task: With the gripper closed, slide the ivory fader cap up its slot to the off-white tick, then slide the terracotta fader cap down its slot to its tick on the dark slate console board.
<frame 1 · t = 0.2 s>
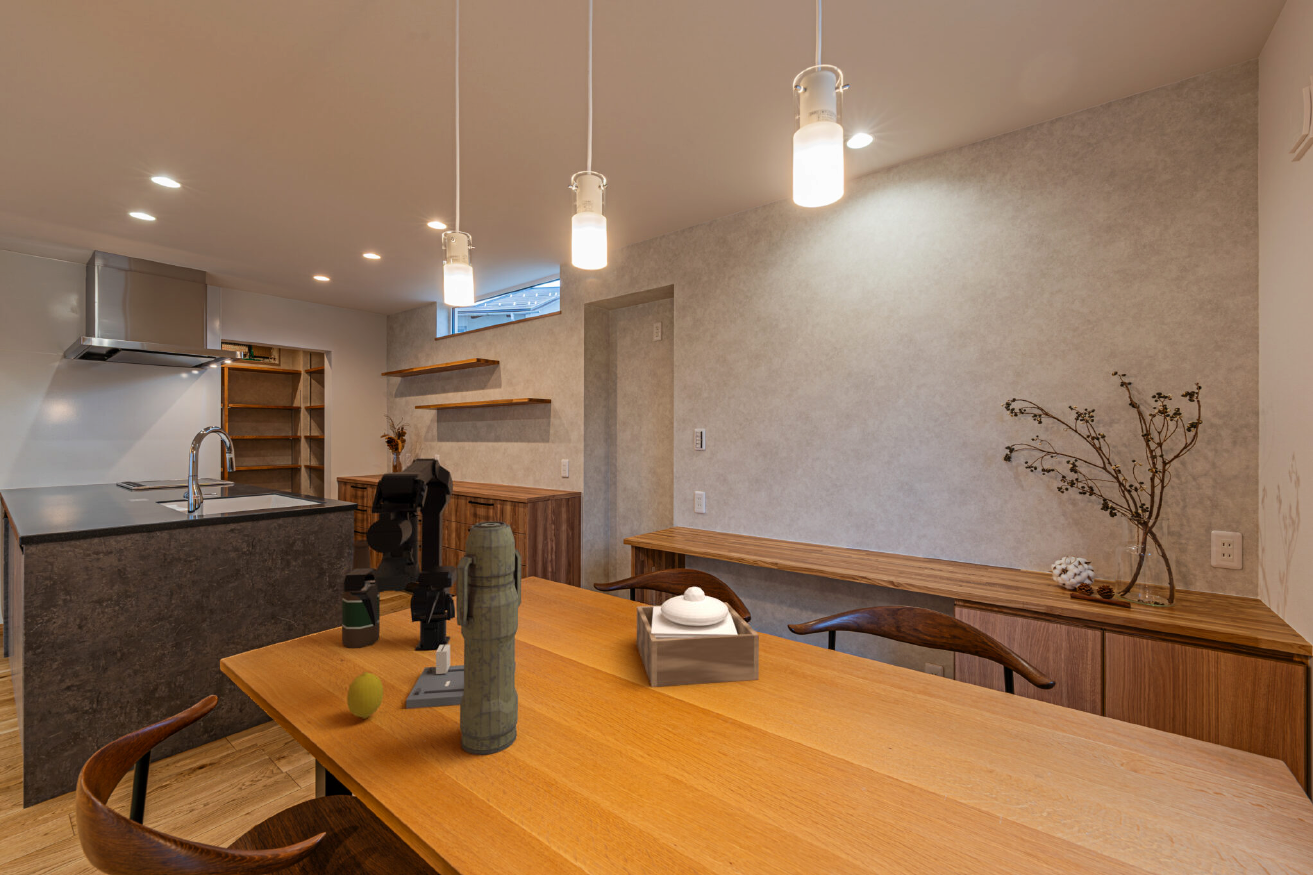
hand: (401, 623, 103), 14 cm above the table, fingers open, 9 cm apart
butter dish: (692, 660, 121), resting in dish corral
lemon: (365, 719, 95), on the table
fader 1: (483, 675, 103), point 4 cm above the table, slide at 10.0 cm
thermos: (489, 740, 89), on the table
console: (465, 687, 107), on the table
fader 2: (443, 658, 111), point 4 cm above the table, slide at 1.0 cm
dish corral: (692, 660, 121), on the table
beer bottle: (360, 643, 129), on the table
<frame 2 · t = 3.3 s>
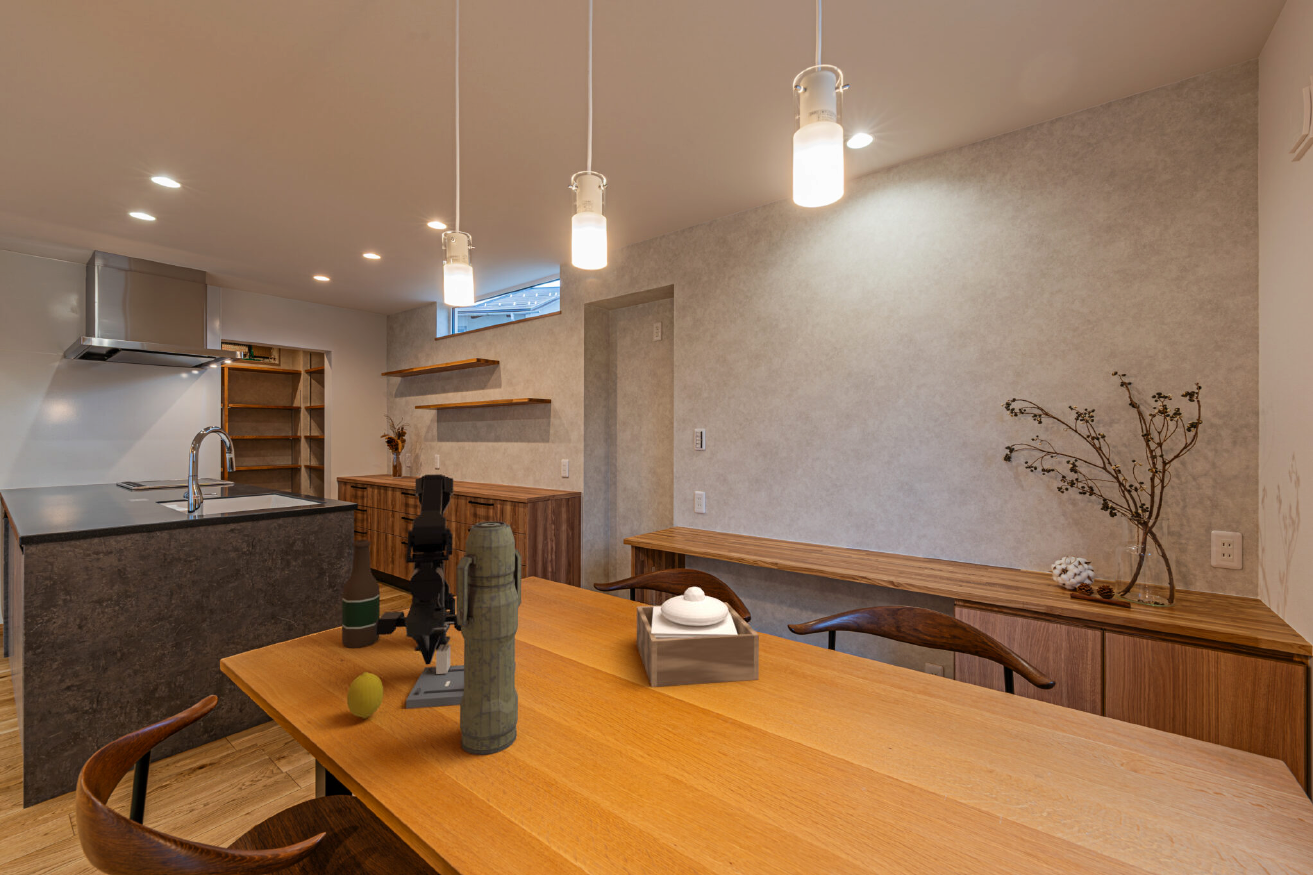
hand: (428, 663, 110), 3 cm above the table, fingers closed
fader 2: (443, 658, 111), point 4 cm above the table, slide at 1.1 cm, touching gripper
everything else where it was.
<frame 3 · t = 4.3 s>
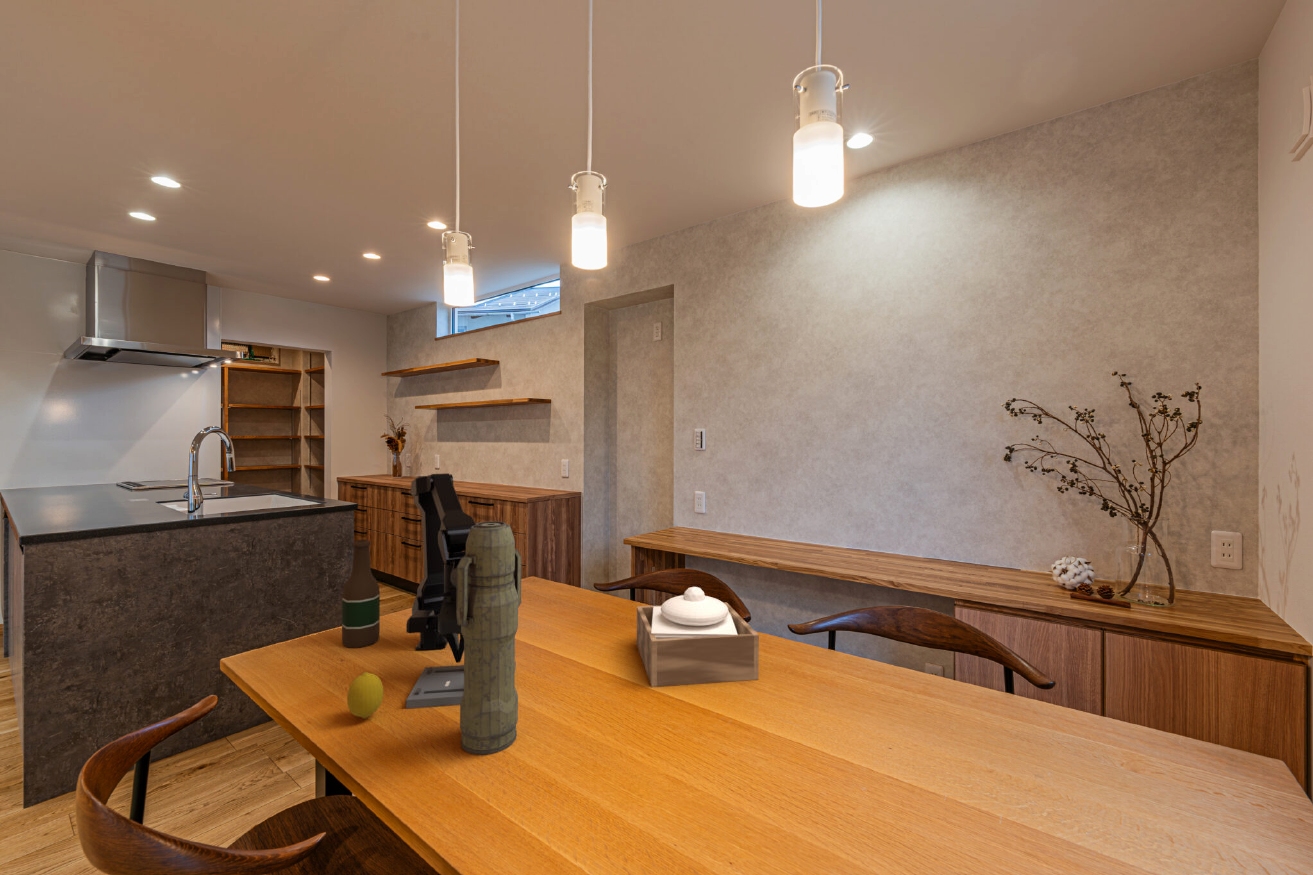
hand: (458, 661, 111), 3 cm above the table, fingers closed
fader 2: (473, 656, 112), point 4 cm above the table, slide at 6.8 cm, touching gripper
everything else where it was.
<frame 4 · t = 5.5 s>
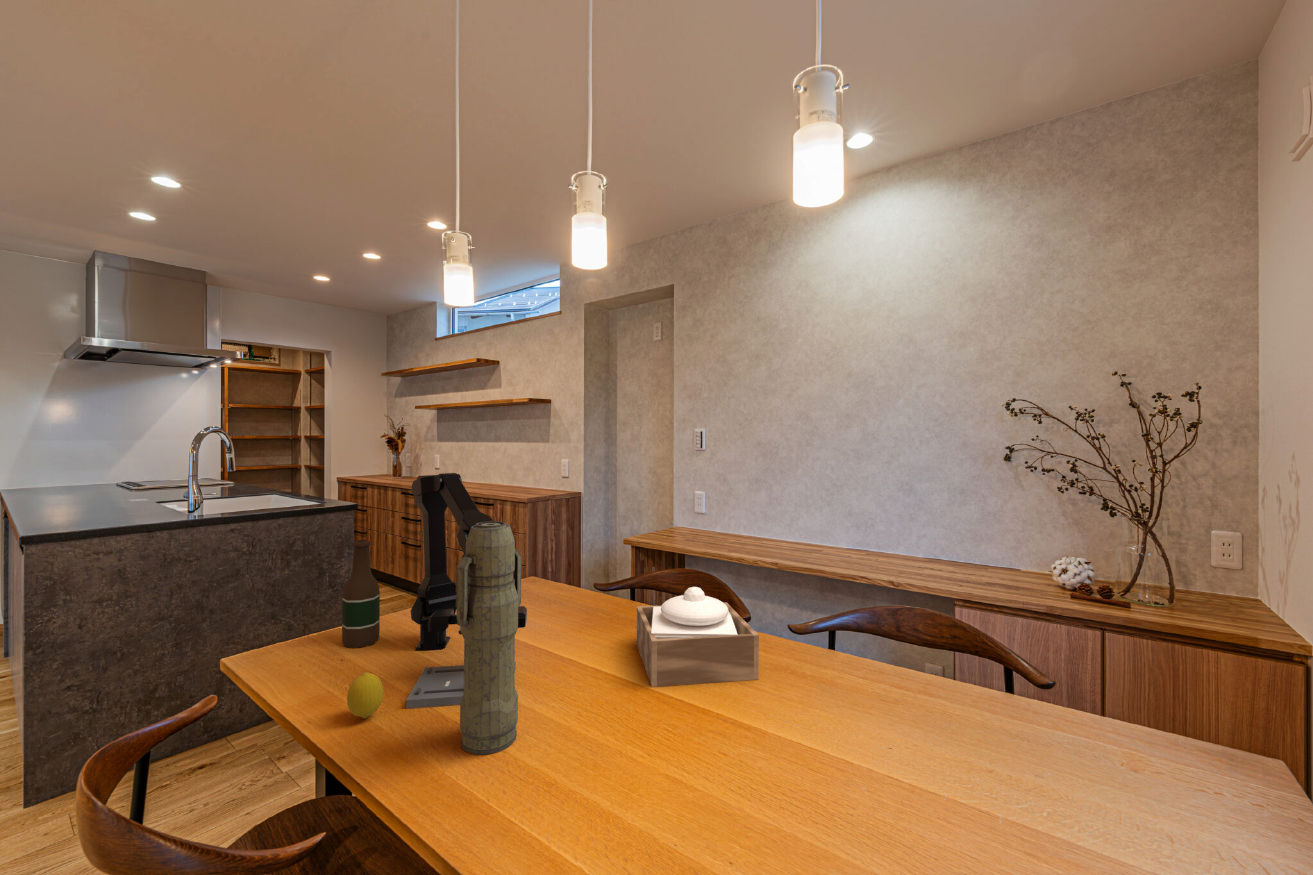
hand: (478, 660, 112), 3 cm above the table, fingers closed
fader 2: (493, 655, 112), point 4 cm above the table, slide at 10.8 cm, touching gripper
everything else where it was.
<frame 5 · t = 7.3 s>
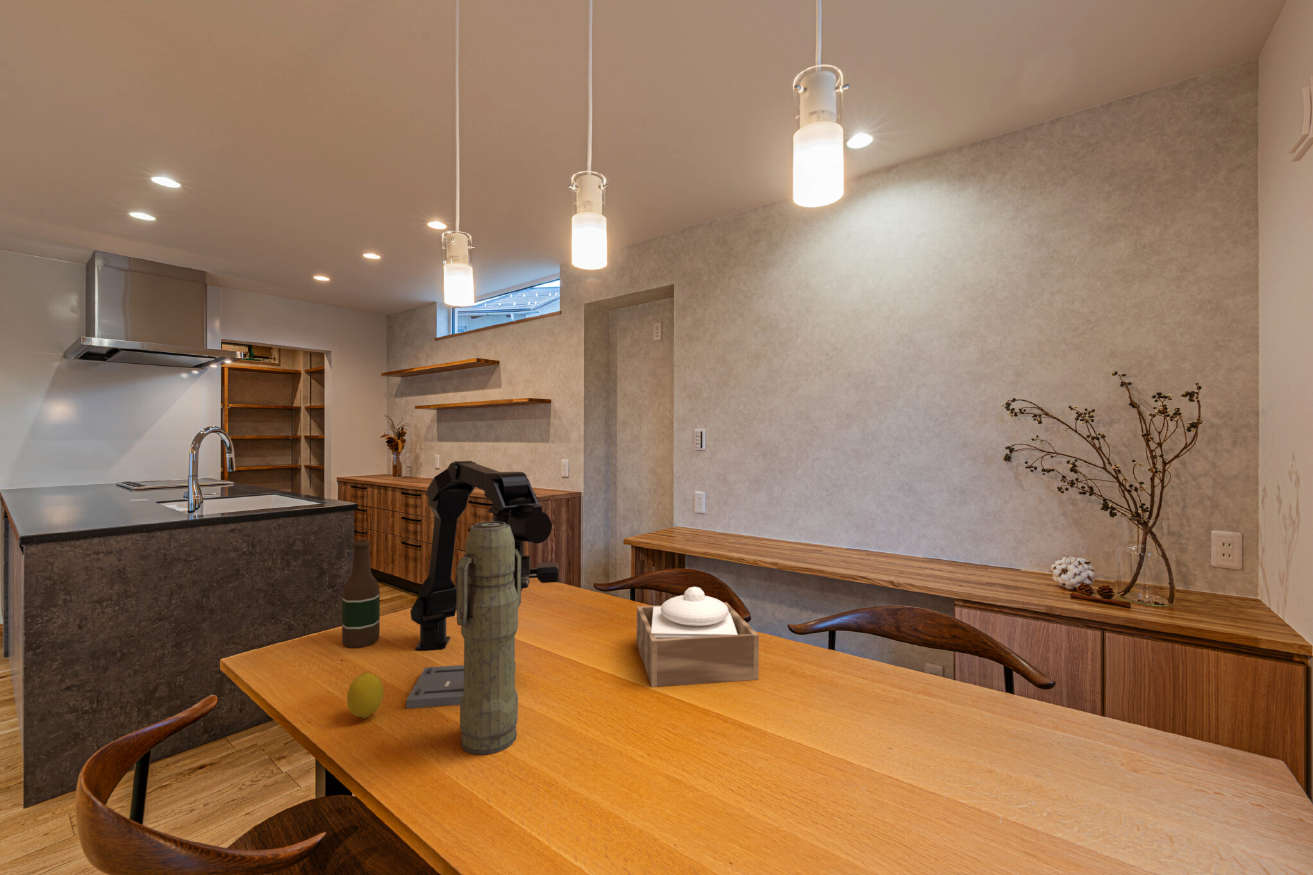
hand: (509, 619, 105), 14 cm above the table, fingers closed
fader 2: (493, 655, 112), point 4 cm above the table, slide at 10.8 cm
everything else where it was.
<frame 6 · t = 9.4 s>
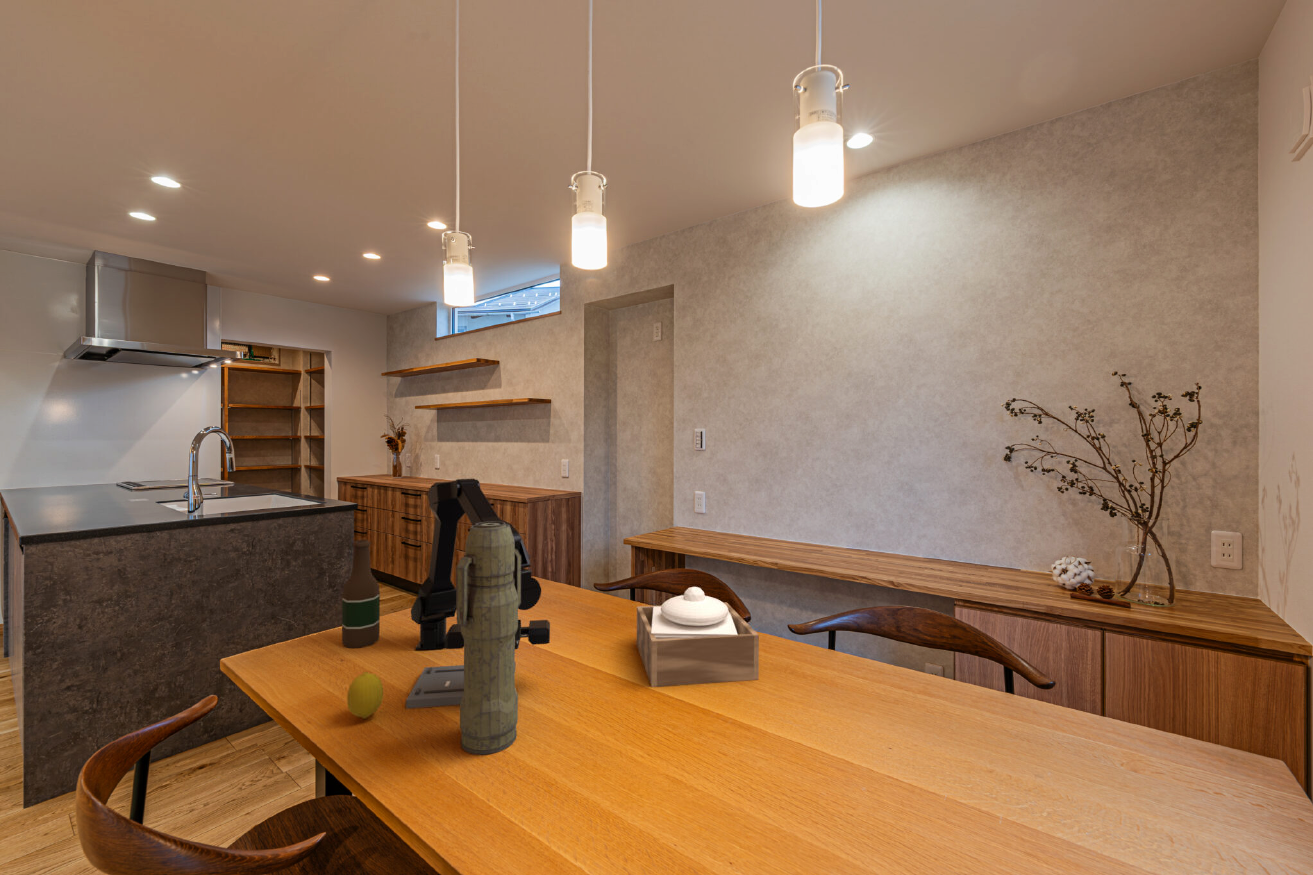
hand: (499, 678, 104), 3 cm above the table, fingers closed
fader 1: (483, 675, 103), point 4 cm above the table, slide at 10.0 cm, touching gripper
everything else where it was.
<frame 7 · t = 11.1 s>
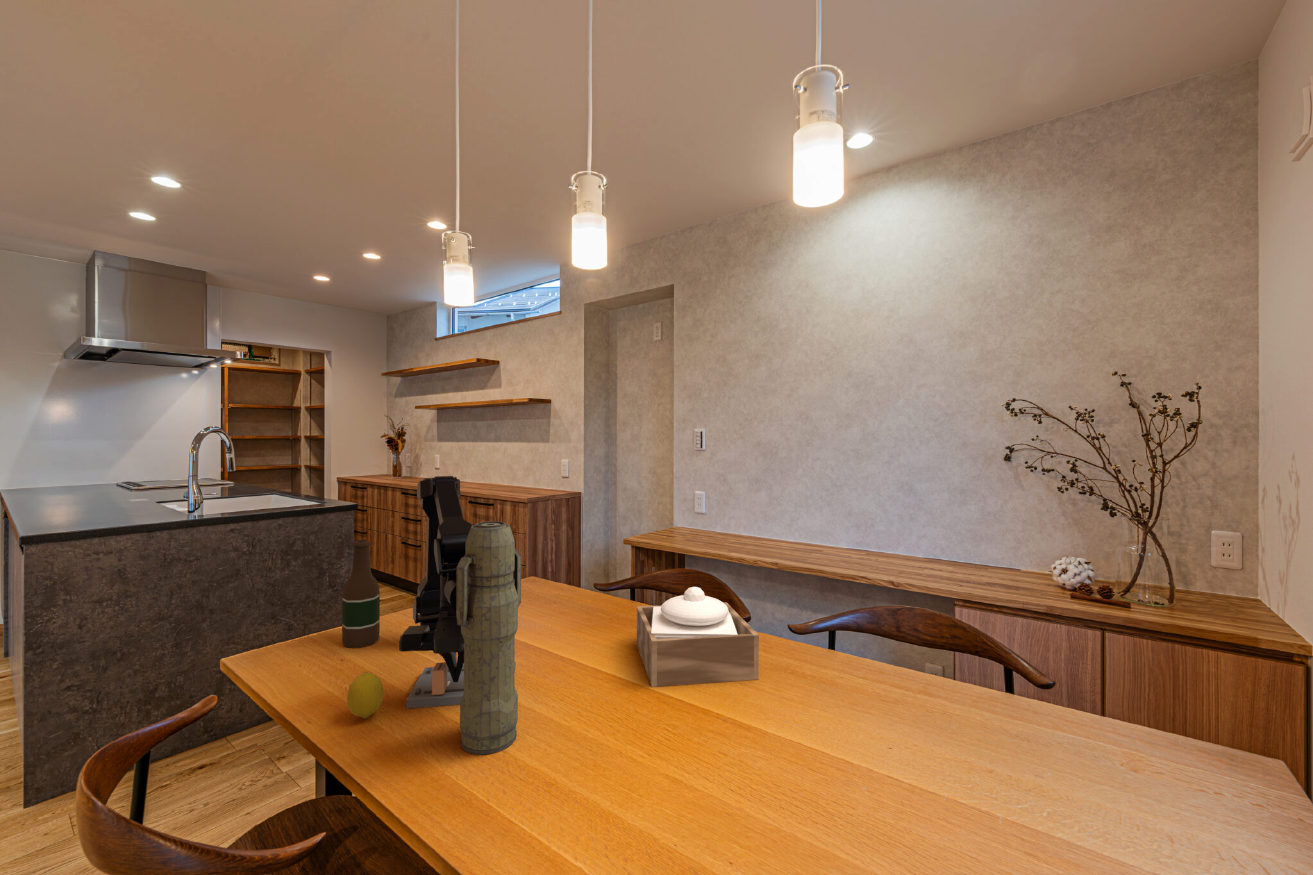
hand: (456, 681, 103), 3 cm above the table, fingers closed
fader 1: (439, 677, 102), point 4 cm above the table, slide at 2.2 cm, touching gripper
everything else where it was.
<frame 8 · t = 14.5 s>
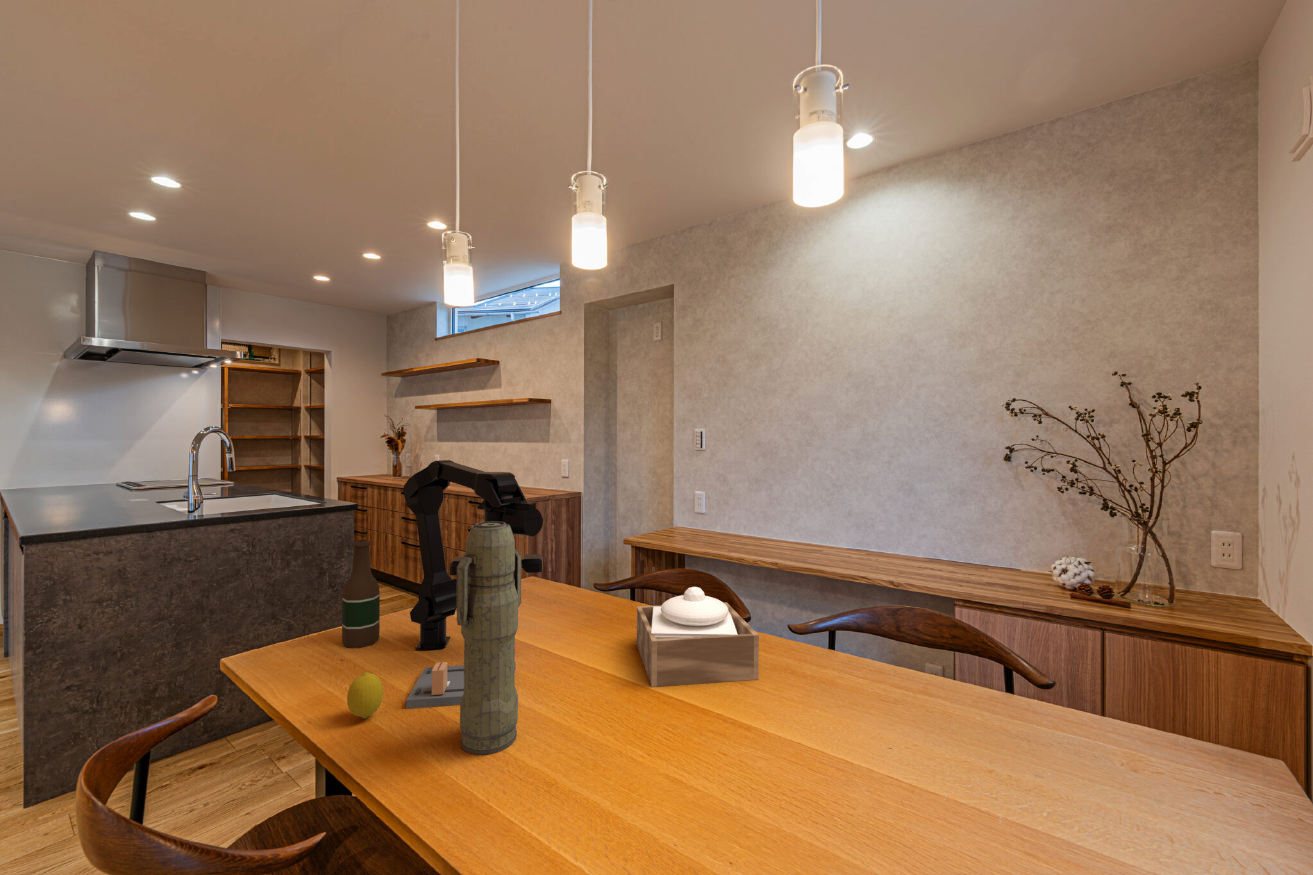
hand: (497, 604, 117), 13 cm above the table, fingers closed
fader 1: (439, 677, 102), point 4 cm above the table, slide at 2.2 cm
everything else where it was.
at the end: fader 2 slide at 10.8 cm; fader 1 slide at 2.2 cm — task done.
